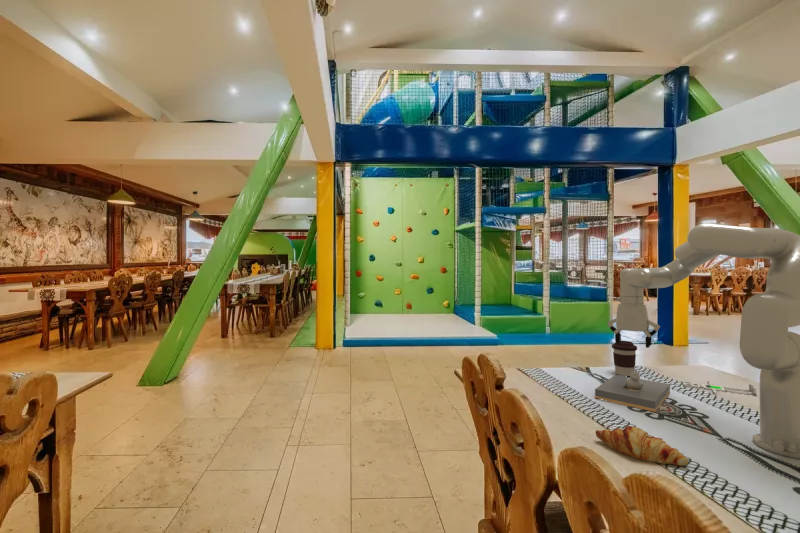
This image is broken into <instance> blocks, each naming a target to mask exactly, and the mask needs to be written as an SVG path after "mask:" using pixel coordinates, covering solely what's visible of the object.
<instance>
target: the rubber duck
mask: <svg viewBox="0 0 800 533" xmlns="http://www.w3.org/2000/svg"><path fill="white" fill-rule="evenodd" d="M639 379H641V375H640V372H638V370H637V369H635V370H634V371H633V372H632V373H631V374H630V378H627V379H626V381H625V384H626V386H627V387H628V388H629V389H632V390H638V389H640V388H641V387H642V383H641V382H640V381H638V380H639Z"/></svg>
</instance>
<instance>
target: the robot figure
mask: <svg viewBox="0 0 800 533" xmlns="http://www.w3.org/2000/svg"><path fill="white" fill-rule="evenodd" d="M681 384H682V387H683V388H691V389H698V390H701V389H703V390H706V391H711V393H712V395H714V394H715V396H716V395H718V392H720V391H722V392H721V393H727V392H730V393H729V394H735V393H737V394H736V395H742V394H744V395H743V396H750V395H752V396H751V397H757V388H756V387H754V384H749V383H748V389H744V388H738V387H737V388H735V387H729V386H721V385H714V384H712V382H711V381H709V380H708V381H707V382H706V383H705V384H704V383H702V384H700V383H698V382H691V381H690V382H689V381H681ZM726 389H727V390H726ZM742 391H743V392H742ZM749 392H751V393H749Z"/></svg>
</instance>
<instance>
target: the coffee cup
mask: <svg viewBox="0 0 800 533" xmlns="http://www.w3.org/2000/svg"><path fill="white" fill-rule="evenodd" d="M611 348H612V349H613V350H612V351H613V352H612V353H613V356H612V357H613V364H614V369H615V370H614V372H615V375H617V374H618V375H621V376H630V374H631V373H632V372H633V371H634V372H635V367H636V358H637V357H636V356H637V354H636V351H638V346H637V345H635V344H634V343H633V341H628V340H621V343H620V344H617V342H616V341H615V342H614V343H612V344H611Z"/></svg>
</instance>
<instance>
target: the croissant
mask: <svg viewBox="0 0 800 533" xmlns="http://www.w3.org/2000/svg"><path fill="white" fill-rule="evenodd" d="M595 435H596V438H597V439H599V440H600V441H602V442H603V443H604V444H605V445H606V446H608V448H610V449H612V450H615V451H616V452H618V453H620V454H622V455H624V456H627V457H632V458H634V459H637V460H640V461H644V462H652V463H655V462H656V463H658V464H671V465H673V466H687V465H688V464H689V463H690V462H689V458H688V457H686V456H684V454H682V452H681V451H679V449H677V448H674V447H671V446H670V445H669V444H668V443H667V442H666V441H665V440H663V438H661V437H654V436H651V435H649V433H648V432H647V431H645V429H642V428H638V427H636V426H631V425H626V426H625V427H624V428H619V427H617V428H615V429H614V430H611V429H603V430H598V429H596V430H595Z"/></svg>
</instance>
